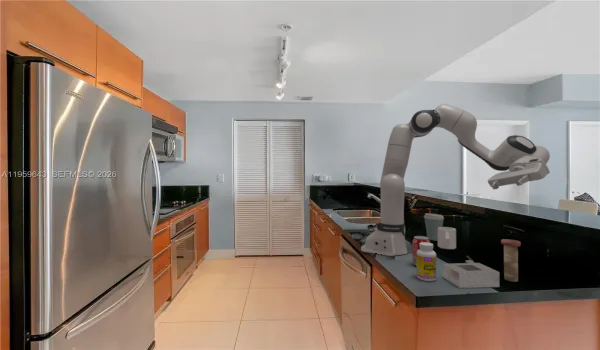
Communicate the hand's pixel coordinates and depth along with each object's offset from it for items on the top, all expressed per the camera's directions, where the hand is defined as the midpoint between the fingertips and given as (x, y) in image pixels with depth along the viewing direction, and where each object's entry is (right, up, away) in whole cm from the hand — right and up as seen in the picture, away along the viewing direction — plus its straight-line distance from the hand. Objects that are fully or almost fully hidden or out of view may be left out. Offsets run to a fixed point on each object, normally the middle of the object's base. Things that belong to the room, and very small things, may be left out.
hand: (505, 185), depth 110 cm
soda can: (-31, -34, +6) cm, 46 cm away
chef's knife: (-8, -34, +10) cm, 37 cm away
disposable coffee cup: (-3, -34, +53) cm, 63 cm away
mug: (-5, -34, +34) cm, 48 cm away
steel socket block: (-21, -34, -12) cm, 42 cm away
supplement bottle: (-35, -34, -8) cm, 50 cm away
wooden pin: (-5, -34, -10) cm, 35 cm away
